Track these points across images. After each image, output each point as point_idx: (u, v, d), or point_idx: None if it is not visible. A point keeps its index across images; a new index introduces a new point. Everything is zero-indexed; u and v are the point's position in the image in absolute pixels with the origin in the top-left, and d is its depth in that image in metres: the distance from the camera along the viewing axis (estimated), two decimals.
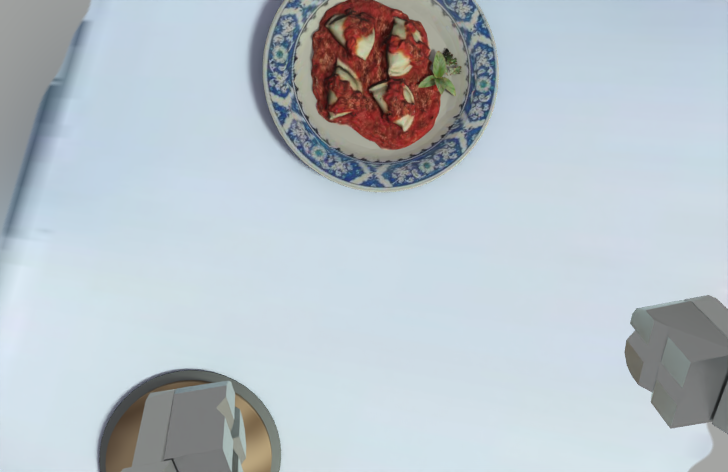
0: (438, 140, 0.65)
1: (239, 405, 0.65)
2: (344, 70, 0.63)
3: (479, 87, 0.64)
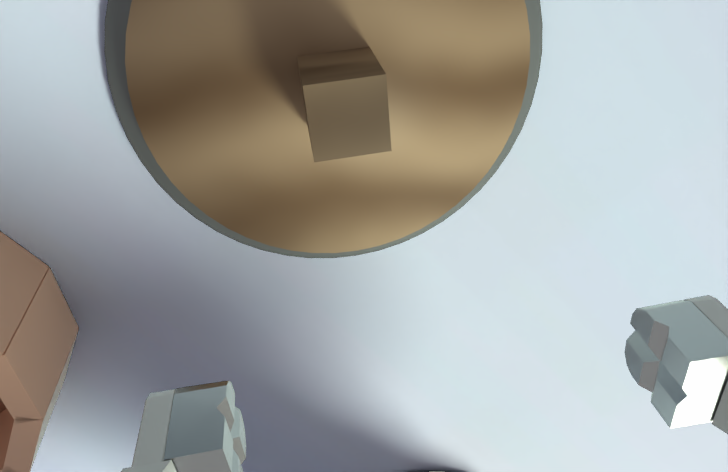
0: None
1: (515, 26, 0.26)
2: None
3: None
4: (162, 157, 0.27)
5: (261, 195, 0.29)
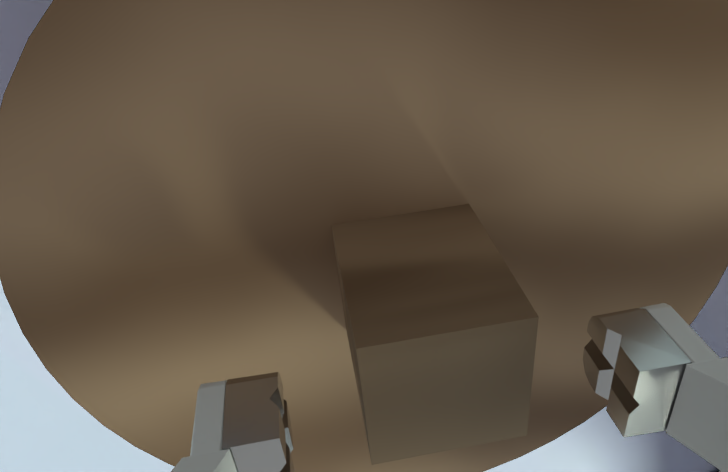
0: None
1: None
2: None
3: None
4: (82, 391, 0.15)
5: None
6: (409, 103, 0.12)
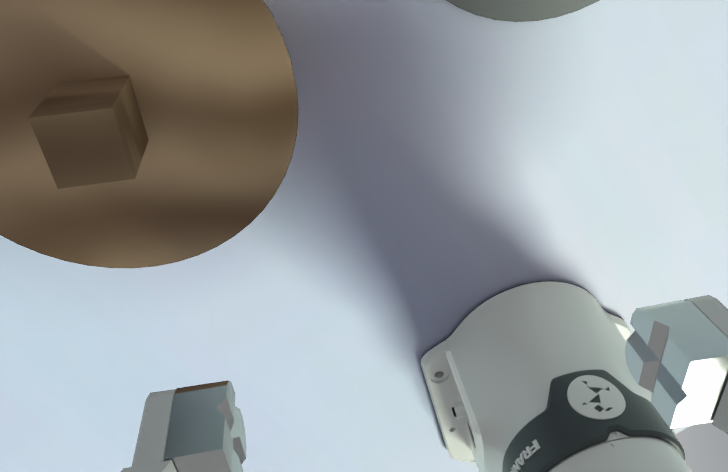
0: None
1: (275, 58, 0.27)
2: None
3: None
4: None
5: (46, 213, 0.29)
6: (80, 19, 0.25)
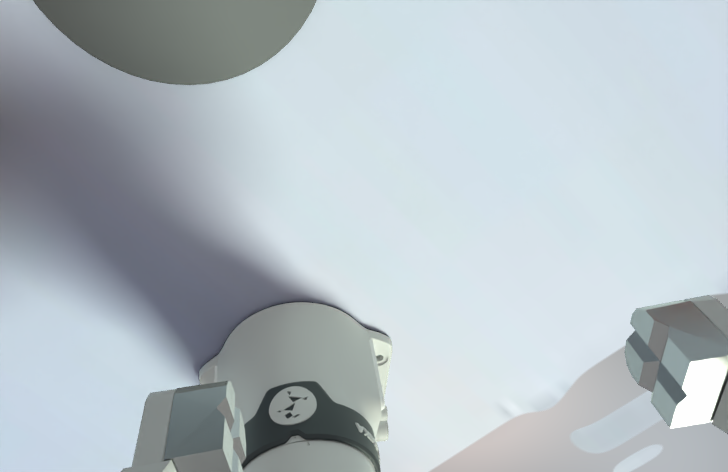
0: None
1: None
2: None
3: None
4: None
5: None
6: None
